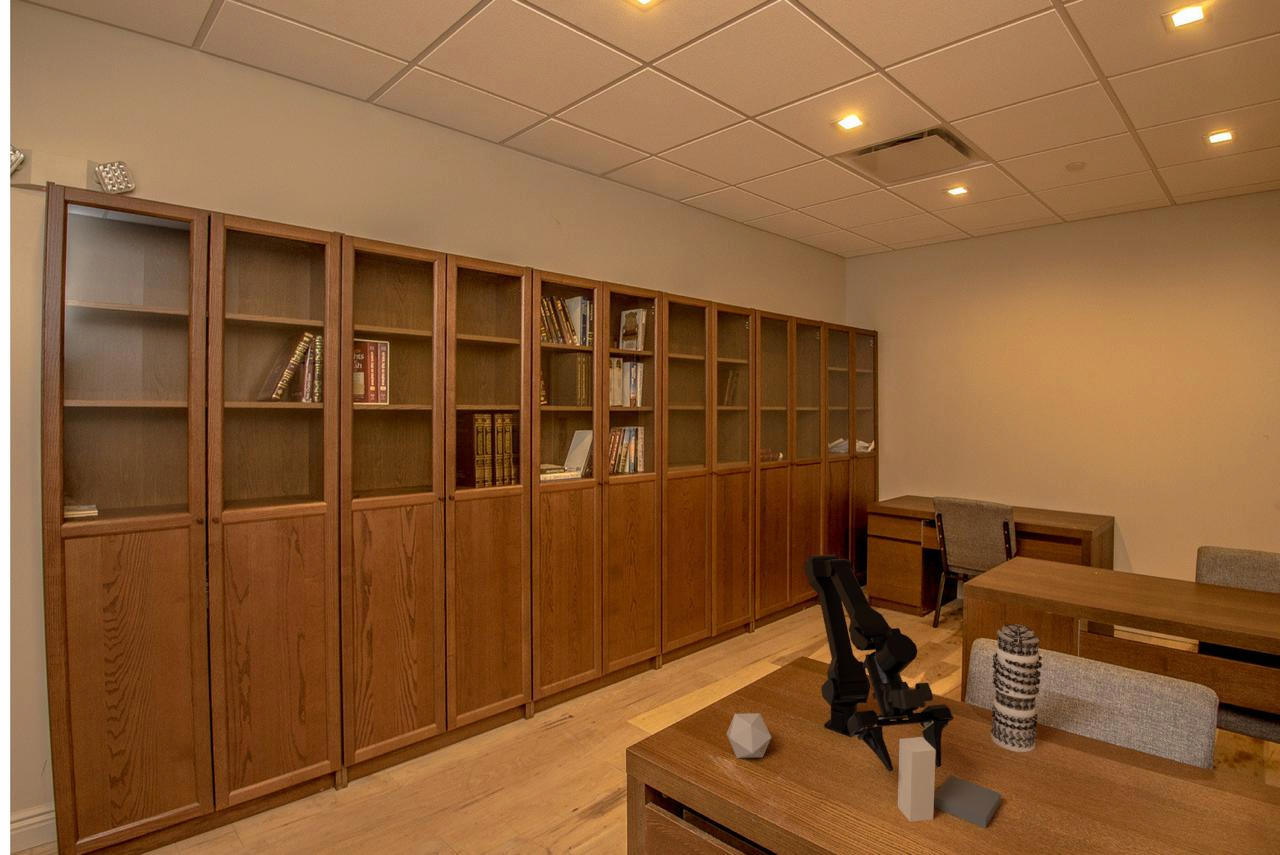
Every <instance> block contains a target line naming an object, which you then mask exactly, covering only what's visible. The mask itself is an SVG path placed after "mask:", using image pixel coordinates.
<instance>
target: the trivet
mask: <svg viewBox="0 0 1280 855" xmlns="http://www.w3.org/2000/svg"><path fill="white" fill-rule="evenodd" d="M1001 796H1002V793H1001V792H998V791H995V790H993V789H990V788H987V787H985V786H981V785H979V784H976V783H974V782H972V781H970V780H969V781H968V780H966V779H963V778H961V777H957V776H956V775H953V774H949V776H947V778H946V779H945V781H944V782H943V783H942V785H940V787H939V789H938V790H936V792H935V793H934V809H937V810H940V811H942V812H945V813H947V814H950V815H952V816H955V817H957V818H959V819H962V820H964V821H967V822H970V823H972V824H974V825H977V826H979V827H981V828H984V829H987V827H988V825H989V824H990V822H991V820H992V818H993V817H994V815H995V813H996V812H997V810H998V808H999V807H1000V806H1001V804H1002V803H1001V800H1002V797H1001Z"/></svg>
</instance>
